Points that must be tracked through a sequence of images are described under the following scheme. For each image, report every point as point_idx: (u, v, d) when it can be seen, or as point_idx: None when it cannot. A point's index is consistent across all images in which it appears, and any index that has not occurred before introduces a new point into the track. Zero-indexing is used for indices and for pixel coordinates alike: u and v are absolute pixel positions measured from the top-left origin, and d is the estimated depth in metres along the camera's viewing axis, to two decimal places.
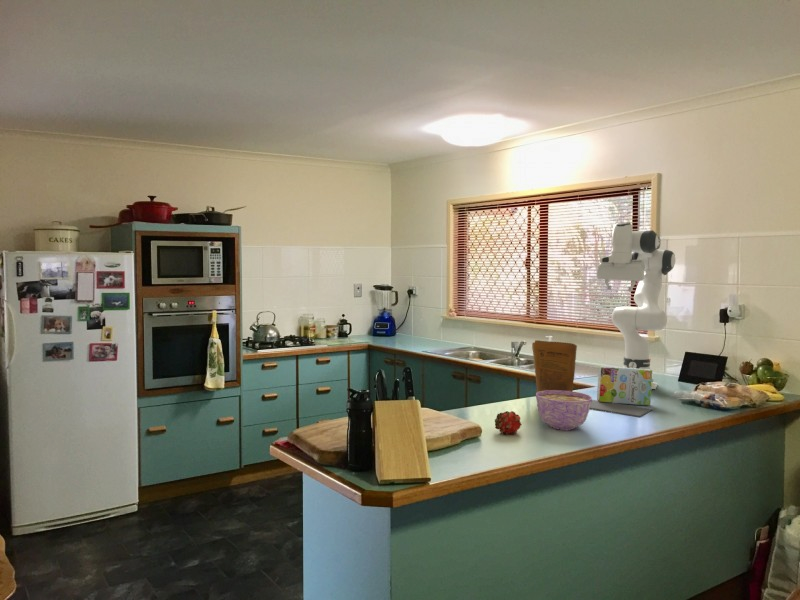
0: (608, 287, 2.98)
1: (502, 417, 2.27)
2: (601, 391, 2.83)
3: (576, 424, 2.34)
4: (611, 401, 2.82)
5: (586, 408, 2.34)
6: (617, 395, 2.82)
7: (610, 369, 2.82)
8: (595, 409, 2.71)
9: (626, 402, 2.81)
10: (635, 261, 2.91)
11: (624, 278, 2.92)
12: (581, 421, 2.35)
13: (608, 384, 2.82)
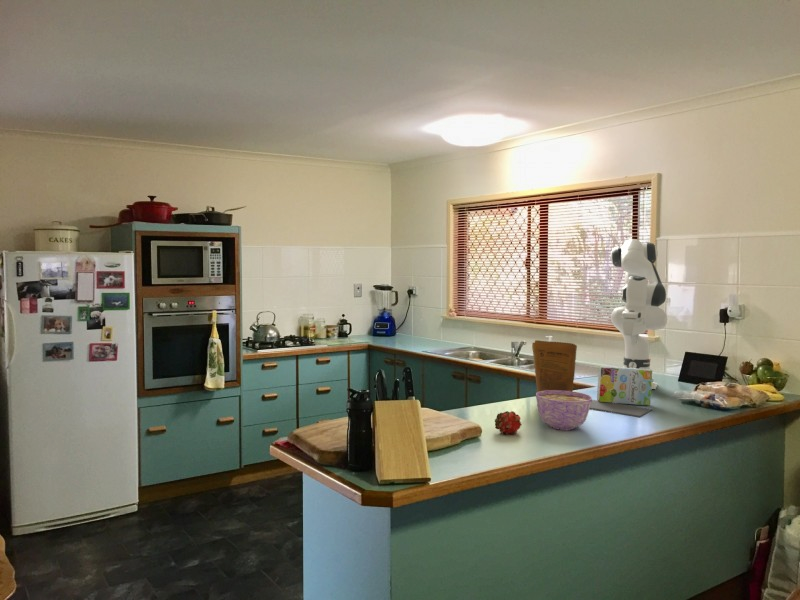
0: (635, 342, 2.90)
1: (502, 417, 2.27)
2: (601, 391, 2.83)
3: (576, 424, 2.34)
4: (611, 401, 2.82)
5: (586, 408, 2.34)
6: (617, 395, 2.82)
7: (610, 369, 2.82)
8: (595, 409, 2.71)
9: (626, 402, 2.81)
10: None
11: (640, 332, 2.92)
12: (581, 421, 2.35)
13: (608, 384, 2.82)
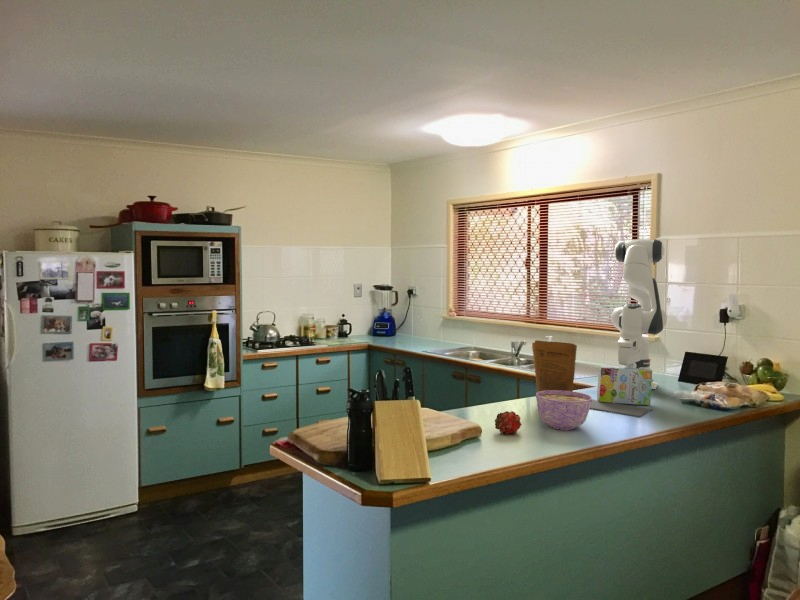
0: None
1: (502, 417, 2.27)
2: (601, 391, 2.82)
3: (576, 424, 2.34)
4: (611, 401, 2.82)
5: (586, 408, 2.34)
6: (617, 395, 2.82)
7: (610, 369, 2.82)
8: (595, 409, 2.71)
9: (626, 402, 2.81)
10: None
11: (635, 360, 2.89)
12: (581, 421, 2.35)
13: (608, 384, 2.82)
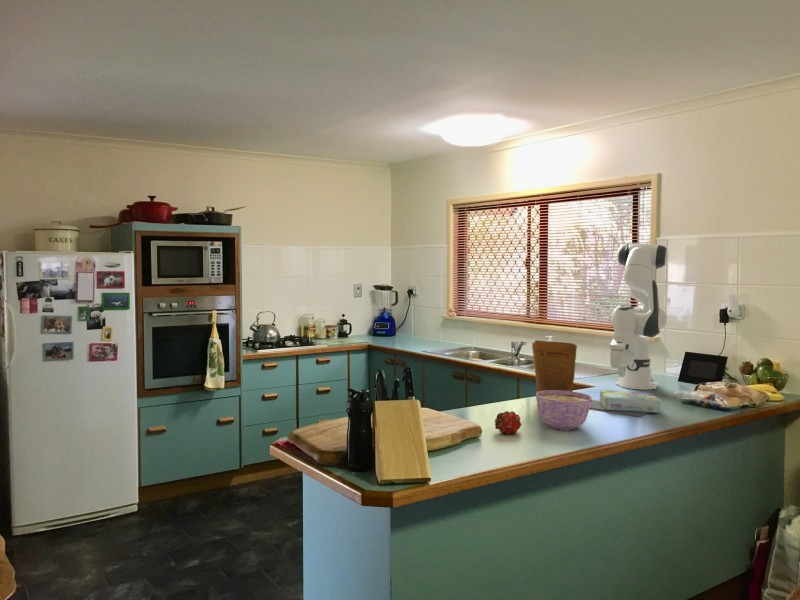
0: (623, 374, 2.79)
1: (502, 417, 2.27)
2: None
3: (576, 424, 2.34)
4: None
5: (586, 408, 2.34)
6: None
7: None
8: (595, 409, 2.71)
9: None
10: None
11: (628, 363, 2.81)
12: (581, 421, 2.35)
13: None
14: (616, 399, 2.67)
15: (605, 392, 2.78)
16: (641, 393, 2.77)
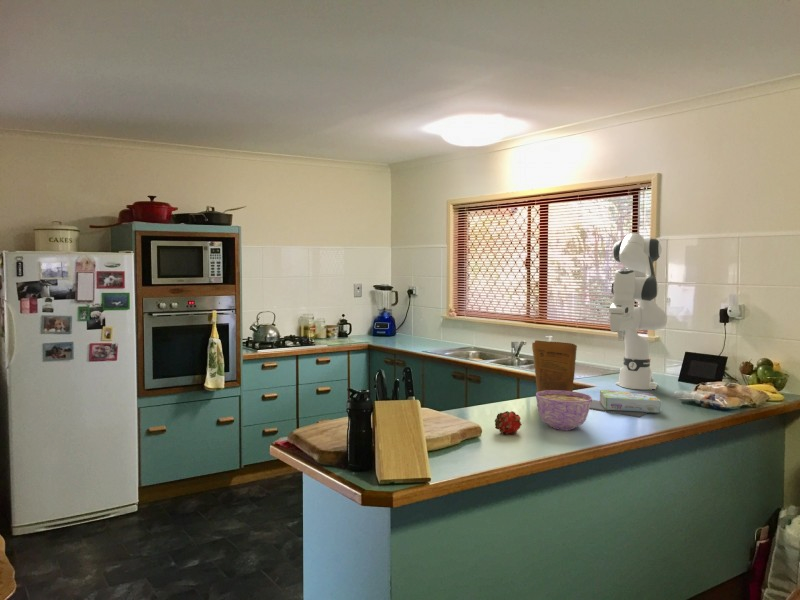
0: (623, 338, 2.80)
1: (502, 417, 2.27)
2: None
3: (576, 424, 2.34)
4: None
5: (586, 408, 2.34)
6: None
7: None
8: (595, 409, 2.71)
9: None
10: None
11: (628, 327, 2.82)
12: (581, 421, 2.35)
13: None
14: (616, 399, 2.67)
15: (605, 392, 2.78)
16: (641, 393, 2.77)
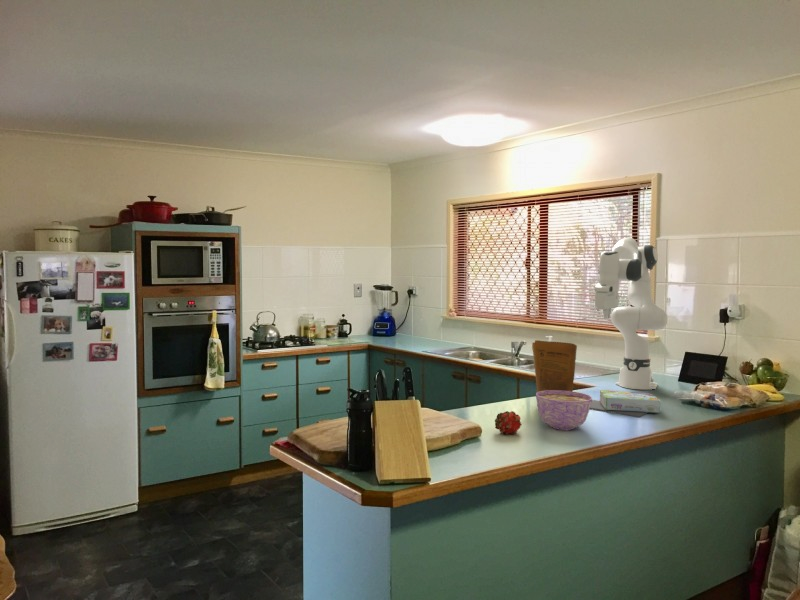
0: (608, 316, 2.95)
1: (502, 417, 2.27)
2: None
3: (576, 424, 2.34)
4: None
5: (586, 408, 2.34)
6: None
7: None
8: (595, 409, 2.71)
9: None
10: None
11: (613, 306, 2.97)
12: (581, 421, 2.35)
13: None
14: (616, 399, 2.67)
15: (605, 392, 2.78)
16: (641, 393, 2.77)
